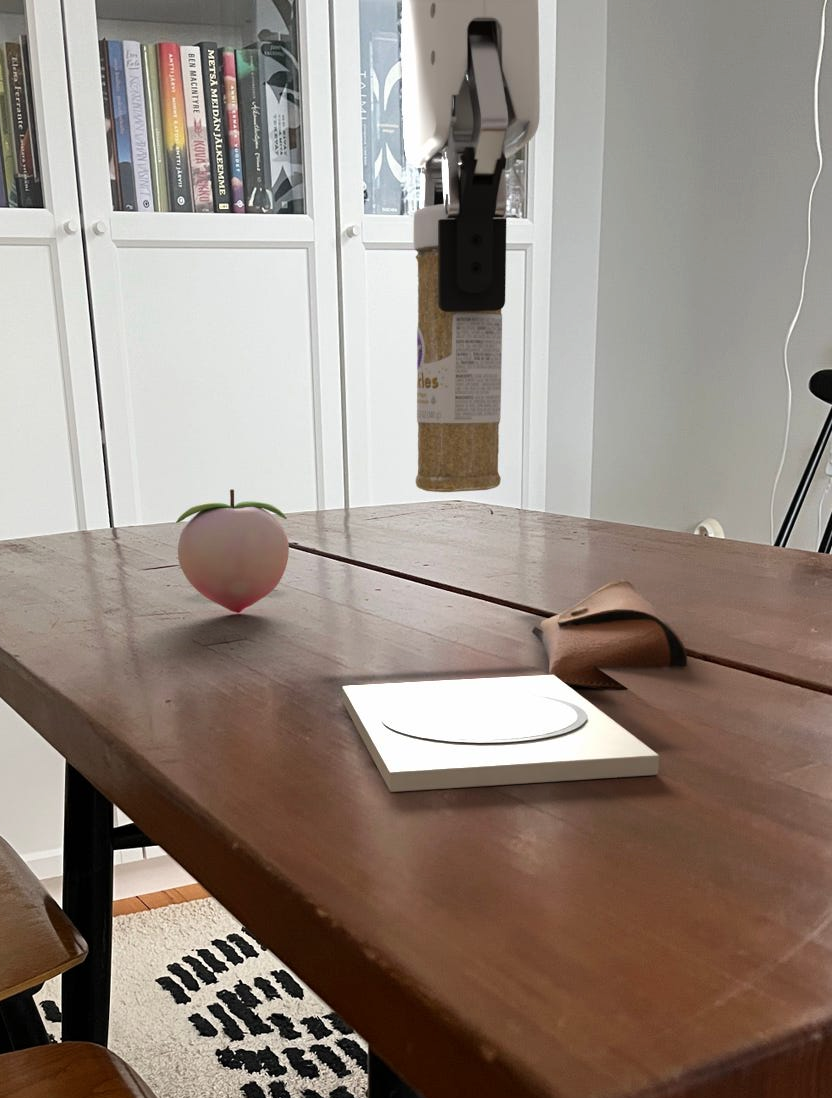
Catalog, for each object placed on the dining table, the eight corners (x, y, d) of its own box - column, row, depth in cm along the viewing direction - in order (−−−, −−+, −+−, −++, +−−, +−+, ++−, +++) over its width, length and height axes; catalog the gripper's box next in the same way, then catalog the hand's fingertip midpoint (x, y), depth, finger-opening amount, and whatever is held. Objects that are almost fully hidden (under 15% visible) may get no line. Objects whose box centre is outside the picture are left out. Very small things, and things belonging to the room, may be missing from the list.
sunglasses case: (524, 627, 93) (573, 547, 91) (604, 673, 94) (654, 596, 92) (547, 682, 77) (609, 586, 74) (644, 738, 78) (708, 645, 75)
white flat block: (553, 690, 77) (554, 672, 77) (658, 775, 60) (660, 752, 60) (342, 702, 76) (341, 684, 75) (390, 792, 59) (389, 769, 58)
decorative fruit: (213, 627, 100) (205, 496, 97) (168, 613, 107) (159, 490, 103) (314, 613, 105) (309, 488, 101) (265, 601, 111) (259, 483, 108)
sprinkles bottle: (403, 488, 68) (399, 211, 63) (480, 484, 69) (482, 212, 65) (435, 494, 64) (433, 199, 59) (516, 490, 65) (522, 200, 61)
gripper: (599, -200, 50) (581, 302, 56) (499, -60, 66) (494, 320, 72) (411, -205, 49) (415, 305, 55) (356, -61, 65) (364, 323, 71)
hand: (460, 309), depth 64 cm, fingers closed on sprinkles bottle, 4 cm apart
